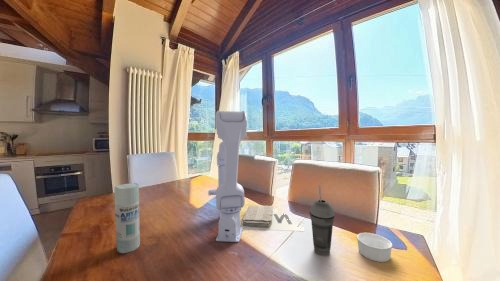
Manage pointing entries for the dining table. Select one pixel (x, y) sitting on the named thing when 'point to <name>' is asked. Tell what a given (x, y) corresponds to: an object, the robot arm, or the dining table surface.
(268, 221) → the washcloth
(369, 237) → the ramekin
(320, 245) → the beverage cup
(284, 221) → the placemat
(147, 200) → the dining table surface
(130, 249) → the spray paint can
